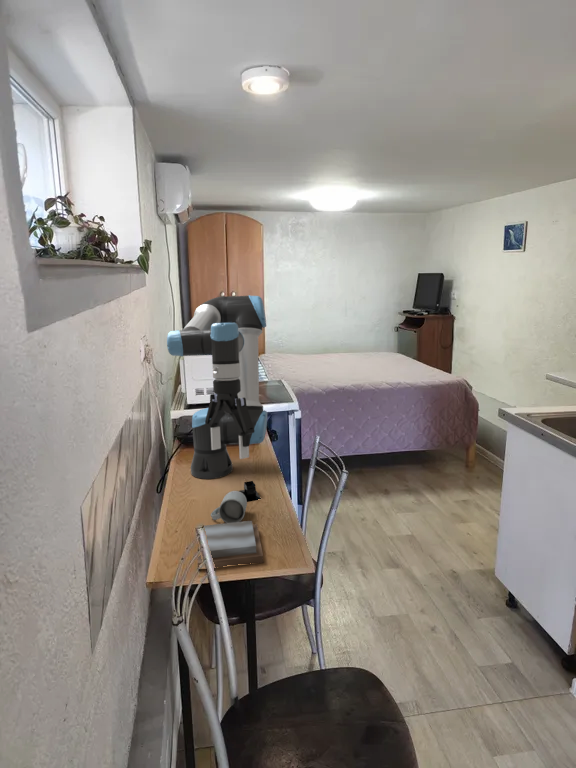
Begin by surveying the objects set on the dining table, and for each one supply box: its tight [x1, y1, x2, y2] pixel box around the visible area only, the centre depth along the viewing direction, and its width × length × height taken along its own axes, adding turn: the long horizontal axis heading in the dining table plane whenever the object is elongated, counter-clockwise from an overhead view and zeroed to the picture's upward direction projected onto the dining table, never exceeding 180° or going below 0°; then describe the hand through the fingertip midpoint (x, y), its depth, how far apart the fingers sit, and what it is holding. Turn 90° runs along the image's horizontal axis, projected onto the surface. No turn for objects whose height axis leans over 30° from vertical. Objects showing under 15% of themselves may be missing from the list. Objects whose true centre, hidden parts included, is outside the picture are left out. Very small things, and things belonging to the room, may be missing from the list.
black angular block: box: [238, 480, 262, 503], centre depth 160 cm, size 12×7×5 cm, turn 19°
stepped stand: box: [197, 520, 264, 569], centre depth 128 cm, size 16×16×4 cm
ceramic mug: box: [210, 490, 248, 523], centre depth 145 cm, size 11×8×8 cm
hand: (229, 453), depth 139 cm, fingers open, 13 cm apart
